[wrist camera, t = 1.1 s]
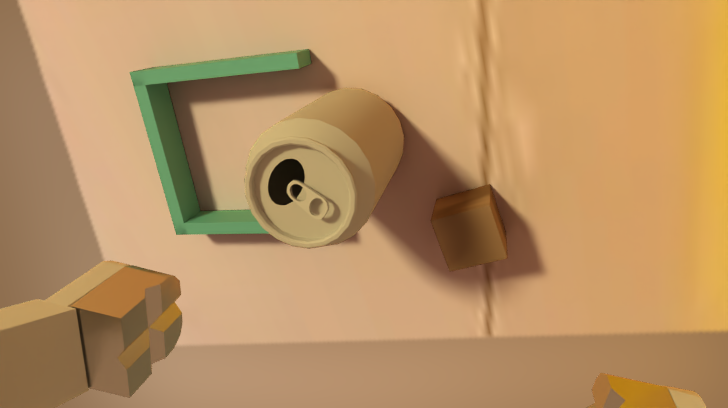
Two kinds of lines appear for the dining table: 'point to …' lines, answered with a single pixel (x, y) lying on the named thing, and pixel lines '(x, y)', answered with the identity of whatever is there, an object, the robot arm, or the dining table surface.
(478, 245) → the walnut block
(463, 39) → the dining table surface
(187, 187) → the corral
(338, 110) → the can
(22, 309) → the robot arm
